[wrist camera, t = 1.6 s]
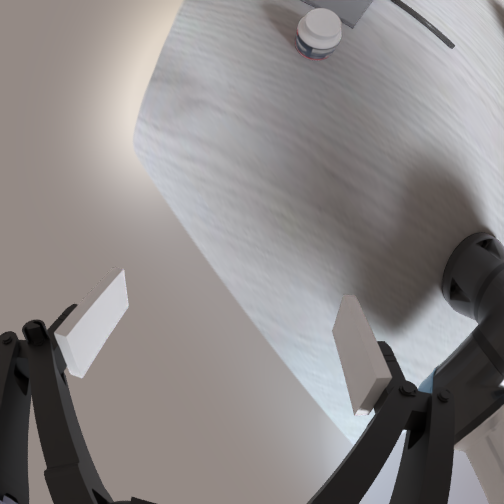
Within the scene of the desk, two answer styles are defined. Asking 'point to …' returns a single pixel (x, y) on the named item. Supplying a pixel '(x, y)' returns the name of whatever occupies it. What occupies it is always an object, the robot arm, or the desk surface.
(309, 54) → the pill bottle
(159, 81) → the desk surface
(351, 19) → the board
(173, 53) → the desk surface
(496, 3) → the desk surface
